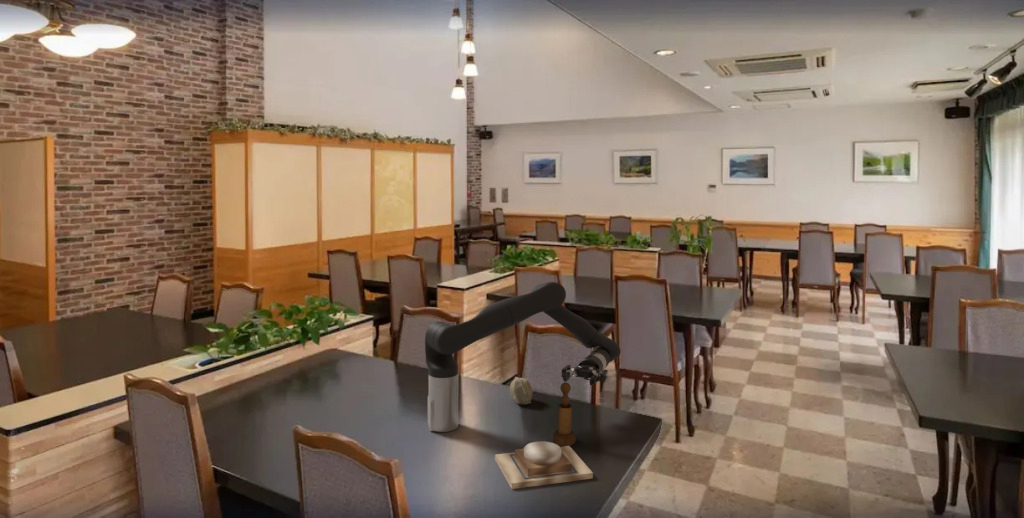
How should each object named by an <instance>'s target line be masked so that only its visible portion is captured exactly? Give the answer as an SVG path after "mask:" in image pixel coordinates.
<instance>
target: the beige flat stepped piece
mask: <svg viewBox="0 0 1024 518" xmlns="http://www.w3.org/2000/svg"><path fill="white" fill-rule="evenodd" d="M494 460H495V462H496V463H497V466H498V467H499V470H500V471H501V473H502V475H503V476H504V478H505V480H506V482H507V483H508V485H509V486H510V489H511V490H515V489H524V488H531V487H538V486H545V485H553V484H560V483H568V482H569V483H570V482H576V481H583V480H590V479H594V472H593V471H592V470H591V469H590V468H589V467H588V466H587V464H586V463H585V462H584V461H583V460H582V459H581V457H580V456H579V455H578V454H577V453H576V452H575V450H573V448H572V447H571V445H570V446H560V445H558V444H556V443H554V442H550V441H533V442H529V443H528V444H526V445H525V446H524V447H523V448H517V449H514V452H503V453H497V454H494Z"/></svg>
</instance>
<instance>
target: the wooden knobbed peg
mask: <svg viewBox="0 0 1024 518" xmlns="http://www.w3.org/2000/svg"><path fill="white" fill-rule="evenodd" d="M559 389H560V391H561V392H562V397H561V402H562V403H560V404H558V420H557V421H558V423H557V429H556V430H555V431H554V432H553V443H554V444H557V445H558V446H560V447H565V446H570V447H571V446H572V445H573V446H574V445H575V443H576V433H575V432H574V431H573V430H572V419H573V418H572V417H573V406H572V404H570V397H569V394H570V391H571V385H570V383H568V382H563V383H561V385H560V388H559Z"/></svg>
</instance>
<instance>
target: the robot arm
mask: <svg viewBox="0 0 1024 518" xmlns="http://www.w3.org/2000/svg"><path fill="white" fill-rule="evenodd" d="M566 298H567V291H566V288H565V287H564V286H563V285H562V284H561V283H558V282H556V281H548V282H544V283H540V284H538V285H536V286H535V287H534V288H533V289H532V290H531V292H528V293H525V294H522V295H521V294H520V295H516V296H512V297H507V298H505V299H502V300H499V301H496V302H494V303H491V304H489V305H487V306H485V307H483V309H481V310H480V312H479V313H477V314H476V316H475V317H473V318H472V319H469V320H467V321H464V322H461V323H456V324H450V323H447V322H445V321H435V322H432V323H431V324H430V325H429V326H428V327H427V330H426V332H425V335H424V349H425V350H424V351H425V352H424V353H425V363H426V367H427V369H428V370H427V371H428V395H427V426H428V429H429V431H430V432H438V433H447V432H451V431H452V432H453V431H454V430H456V429H458V427H459V365H458V363H457V362H456V359H455V358H454V356H453V354H456V353H458V352H459V351H460V352H461V350H463V349H465V348H466V347H468V346H470V345H472V344H474V343H476V342H477V341H479V340H480V341H481V340H482V339H485V338H488V337H490V336H492V335H495V334H497V333H500V332H502V331H504V330H507V329H509V328H511V327H513V326H515V325H518V324H519V323H522V322H524V321H525V320H528V319H529V318H530V317H533V316H535V315H537V314H540V313H544V314H546V315H547V316H548V317H549V318H551V319H552V320H555V321H556V323H558V324H559V325H561V326H562V327H563V328H564V329H566V330H567V331H568V332H569V333H570V334H571V335H573V336H574V337H575V338H576V340H578V341H579V342H580V343H581V344H582V346H584V347H586V349H593V348H594V349H593V350H592V351H590V353H589V354H588V355H586V356H585V357H584V358H583V359H582V360H580V362H578V363H579V364H578V365H577V366H575V367H572V366H571V364H567V365H566V366H564V367H563V368H562V369H561V378H562V380H563V383H568V381H569V380H570V379H573V380H576V379H577V380H578V379H584V380H586V381H589V386H594V385H595V384H597V383H599V382H600V383H601V384H602V383H605V382H606V381H607V379H608V370H607V369H606V368H607V367H608V366H609V364H610V363H611V362H613V361H614V360H616V359H617V358H619V357H620V355H621V348H620V345H619V344H618V343H617V341H615V340H613V339H612V338H610V337H608V336H606V335H604V334H602V332H599V331H598V330H597V329H596V328H595V327H594V326H593V325H592V324H591V323H590V322H589V321H587V320H586V319H584V318H583V317H582V316H580V315H578V314H576V313H574V312H572V311H571V310H569V309H567V307H565V306H564V305H563V304H564V302H565V300H566Z"/></svg>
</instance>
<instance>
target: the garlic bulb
mask: <svg viewBox="0 0 1024 518" xmlns="http://www.w3.org/2000/svg"><path fill="white" fill-rule="evenodd" d="M509 393H510V396H511V398H513V401H514V403H515V404H517V405H528V404H531V403H532V401H531V400H532V398H533V388H532V386H531V383H530V381H529V380H528V379H526V378H525V377H519V376H515V377H514V378H513V380H512V381H511V383H510V385H509Z"/></svg>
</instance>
